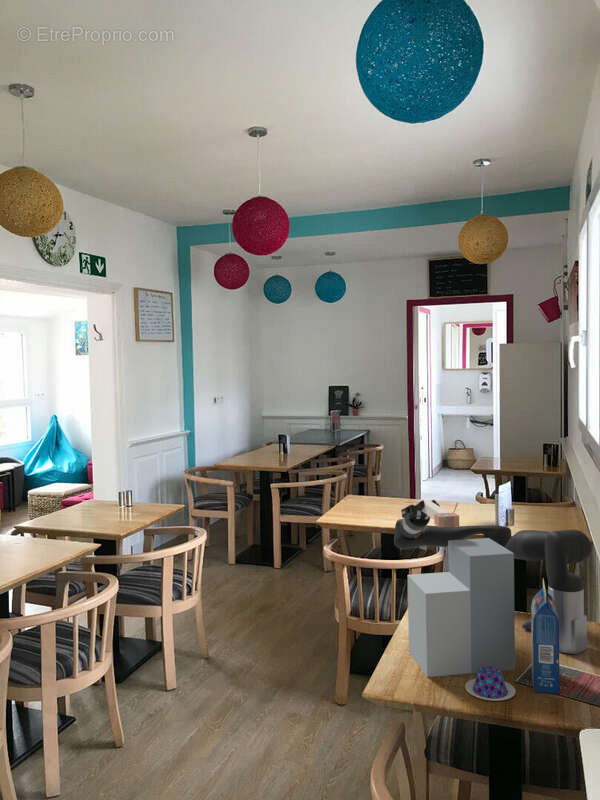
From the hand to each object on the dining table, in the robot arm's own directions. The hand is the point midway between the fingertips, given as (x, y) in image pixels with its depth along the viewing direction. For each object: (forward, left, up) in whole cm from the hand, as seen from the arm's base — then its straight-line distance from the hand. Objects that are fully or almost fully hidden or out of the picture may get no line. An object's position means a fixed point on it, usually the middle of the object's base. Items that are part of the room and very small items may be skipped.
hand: (428, 503), depth 210 cm
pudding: (-39, +22, -38) cm, 59 cm away
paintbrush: (-26, -25, -38) cm, 53 cm away
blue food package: (-45, +8, -38) cm, 59 cm away
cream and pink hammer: (-6, +3, -3) cm, 7 cm away
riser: (-23, +14, -38) cm, 47 cm away
